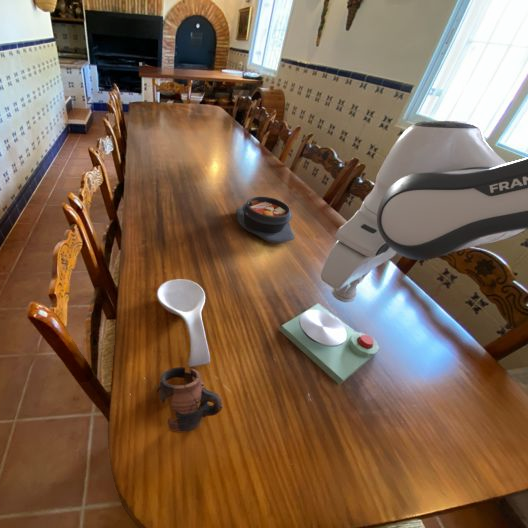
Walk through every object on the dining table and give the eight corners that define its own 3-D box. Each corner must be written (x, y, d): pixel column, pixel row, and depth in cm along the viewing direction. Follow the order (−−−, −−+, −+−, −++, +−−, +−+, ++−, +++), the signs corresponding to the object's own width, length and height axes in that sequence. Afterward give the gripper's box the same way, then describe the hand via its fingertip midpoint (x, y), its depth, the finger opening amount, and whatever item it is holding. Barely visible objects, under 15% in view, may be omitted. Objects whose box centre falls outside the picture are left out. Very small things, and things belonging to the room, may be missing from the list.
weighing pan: (354, 334, 66) (355, 332, 66) (327, 354, 62) (328, 353, 61) (316, 305, 72) (317, 304, 72) (289, 322, 68) (290, 320, 68)
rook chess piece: (342, 285, 62) (360, 255, 57) (358, 301, 58) (379, 270, 53) (325, 289, 60) (341, 259, 55) (340, 305, 57) (359, 274, 52)
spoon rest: (152, 290, 78) (153, 270, 73) (195, 285, 80) (198, 265, 76) (172, 371, 60) (175, 351, 56) (226, 361, 63) (233, 341, 58)
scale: (376, 355, 67) (384, 345, 64) (340, 386, 60) (348, 377, 58) (315, 308, 77) (320, 298, 74) (279, 330, 70) (283, 321, 68)
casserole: (223, 213, 112) (227, 192, 107) (264, 207, 118) (270, 187, 113) (259, 251, 95) (266, 229, 89) (306, 242, 100) (315, 221, 95)
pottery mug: (151, 431, 52) (147, 388, 50) (168, 398, 61) (165, 361, 59) (220, 442, 48) (218, 396, 47) (227, 406, 57) (226, 366, 56)
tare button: (372, 345, 65) (376, 341, 64) (366, 350, 64) (369, 346, 63) (361, 337, 66) (364, 332, 65) (355, 342, 65) (358, 337, 64)
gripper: (395, 203, 56) (361, 260, 64) (331, 232, 46) (301, 294, 55) (431, 219, 52) (390, 277, 60) (370, 253, 42) (331, 317, 51)
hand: (347, 285), depth 58 cm, fingers closed on rook chess piece, 3 cm apart
